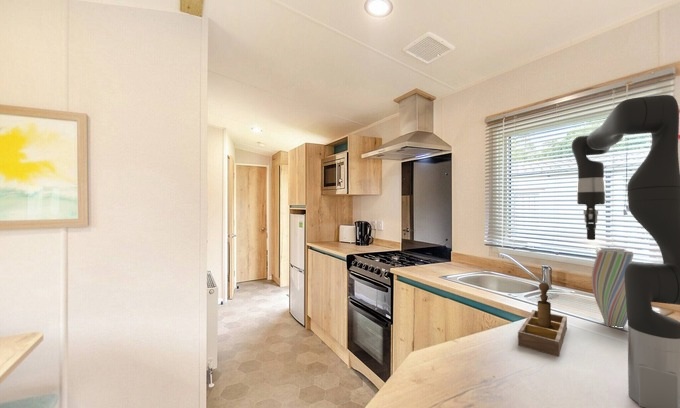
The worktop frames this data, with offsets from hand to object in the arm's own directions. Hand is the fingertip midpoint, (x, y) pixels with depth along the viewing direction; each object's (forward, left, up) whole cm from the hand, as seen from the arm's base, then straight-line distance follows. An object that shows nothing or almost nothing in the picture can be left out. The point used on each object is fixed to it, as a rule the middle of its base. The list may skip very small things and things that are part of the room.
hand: (591, 239), depth 104 cm
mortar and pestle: (-10, +13, -34) cm, 38 cm away
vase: (+20, -6, -35) cm, 41 cm away
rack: (-10, +13, -35) cm, 39 cm away
